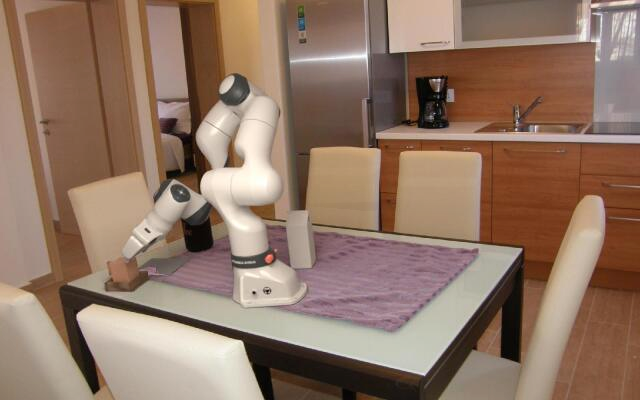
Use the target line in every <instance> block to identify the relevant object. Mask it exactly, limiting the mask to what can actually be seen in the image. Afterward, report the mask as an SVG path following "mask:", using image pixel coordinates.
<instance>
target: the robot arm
mask: <svg viewBox="0 0 640 400" xmlns="http://www.w3.org/2000/svg"><path fill="white" fill-rule="evenodd" d="M217 89H218V90H217V96H218V98H219V100H218V101H217V102H216V103H215V104H214V106H212V108H211V109H210V110H209V111H208V113H207V114H206V115H205V117H204V119H203V120H202V122H201V123H200V124H199V126H198V128H197V129H196V132H195V141H196V145H197V147H198V149H199V150H200V151H201V153H202V154H203V156H205V159H206V160H207V161H208V163H209V164H210V166H211V167H210V168H211V170H208V171H206V172H205V173H204V174H203V176H202V178H201V180H200V186H199V187H200V188H199V190H200V194H199V193H197V192H196V191H194V190H193V189H191V188H190V187H188V186H187V185H185V184H184V183H182V182H180V181H179V180H176V179H174V178H169V179H165V180H163V181H162V182H161V184H160V186H159V188H158V189H157V190H156V191H155V192H154V194H153V195H152V197H153V198H152V199H153V204H154V206H153V207H152V209H150V210H149V212H148V213H146V215H145V217H144V218H143V219H142V221H141V222H140V223H139V224H138V225H137V226H135V227H134V228H133V229H132V231H131V234H132V235H131V236H130V237H129V238H128V239H127V240H126V242H125V244H124V246H122V249H121V255H122V257H125V258H124V262H125V263H129V262H130V261H131V260H132V258H133V257H136V256H138V255H139V254H141V253H145V252H147V250H148V249H149V248H150V247H152V246H153V245H154V244H157V243H158V242H160V241H163V240H165V239H166V237H167V236H168V235H169V234H170V232H171V231H172V229H173V228H174V225H175V223H177V222H178V221H179V220H181V218H182V219H183V220H185V221H186V222H187V223H189V224H190V225H200V224H203V223H204V222H205V221H206V220H207V218H208V217H209V216H210V214H211V211H212V207H213V208H214V209H215V210H216V211H217V213H218V214H219V216H220V217H221V219H222V220H223V222H224V224H225V227H226V231H227V234H228V239H229V245H230V250H231V251H230V252H229V253H230V254H229V255H230V263H231V268H232V270H233V292H232V300H233V301H234V302H236V303H238V304H239V305H240V306H241V307H242V308H243V309H244V308H245V309H246V308H247V309H248V308H259V307H260V308H262V307H263V308H264V307H275V306H278V307H279V306H292V305H294V304H297V303H298V302H300V301H301V300H302V299H304V298H305V295H306V294H308V293H307V292H308V286H307V285H308V284H307V283H306V282H303V281H302V282H301V281H300V279H299V276H298V274H297V271H296V270H295V269H293V268H291V266H289V265H288V264H286V263H284V262H283V261H281V260H279V259H278V258H277V253H278V250H277V248H274V249H273V248H272V247H271V246H269V239H268V232H267V231H268V230H267V224H266V222H265V221H264V220H263V218H262V217H260V216H258V215H257V214H255V213H254V211H252V209H251V206H252V207H253V206H254V207H263V206H268V205H272V204H273V205H274V204H276V203H277V202H279V201H280V199H282V198H281V197H282V196H283V193H284V191H285V190H284V189H285V188H284V187H285V183H284V180H283V176H282V175H281V174H280V172H279V171H278V170H277V169H276V168H275V167H274V165H273V162H272V152H273V146H274V143H275V140H276V135H277V131H278V125H279V119H280V116H281V108H280V106H279V104H278V102H277V101H276V100H275V99H274V98H272V97H271V96H269V95H268V94H267V93H266V92H265V91H263V90H262V88H260V87H259V86H258V85H256V84H255V83H254V82H252V81H250V80H249V79H247V77H246V76H244V75H242V74H241V73H240V74H239V73H238V72H237V73H235V72H234V73H230V74H228V75H227V76H226V77H225V78H224V79H222V81H221V82H220V84H219V86H218V88H217ZM236 133H237V134H236ZM235 135H236V136H235ZM234 136H235V140H234V145H233V146H234V151H235V153H236V155H237V156H238V157H239V158H240V159H241V160H243V161H244V162H243V164H242V166H241V167H229V164H230V160H231V157H230V155H229V146H230V144H231V141H233V138H234Z"/></svg>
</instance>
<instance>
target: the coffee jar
mask: <svg viewBox="0 0 640 400" xmlns="http://www.w3.org/2000/svg"><path fill="white" fill-rule="evenodd" d="M180 222H181V229H182V232H183V233H182V234H183V239H184V244H185V248H186V250H187V251H188V252H191V253H200V252H201V253H202V252H206V251H208V250H210V249H212V247H213V246H214V237H213V231H212V223H211V218H210V215H209V217H208V218H207V220H206V221H205V222H204V223H203V224H200V225H190V224H189V223H187V222H186V221H185V220H183V219H182V218H181V217H180Z"/></svg>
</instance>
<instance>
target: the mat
mask: <svg viewBox="0 0 640 400" xmlns="http://www.w3.org/2000/svg"><path fill="white" fill-rule="evenodd" d="M190 260H191V257H174V258H173V257H166V258H165V257H161V258H160V257H157V258H154V257H153V258H152V257H151V259H148V261H146V262H144V263H143V264H142V265H140V266H138V270H141V269H144V268H146V267H149V266H152V265H154V264H155V266H156V267H154V268H156V272H155V273H159V274H164V275H170V274H171V275H172V273H173V272H174V271H175V272H177V271H178V270H179V269H180V268H182V267H183V266H184V265H185V264H187V263H188V262H189V261H190ZM177 269H178V270H177ZM157 271H158V272H157ZM175 272H174V273H175ZM174 273H173V274H174ZM171 275H170V276H171Z"/></svg>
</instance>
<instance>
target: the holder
mask: <svg viewBox="0 0 640 400" xmlns="http://www.w3.org/2000/svg"><path fill="white" fill-rule="evenodd" d="M148 281H150V276H148V271H139V276H138V277H136V278H135V279H134V280H132V281H131V282H113V278H112V277H111V278H109V279H108V280H107V281H105V282H103V284H104V288H105V292H111V293H112V292H117V293H120V292H121V293H122V292H123V293H125V292H126V293H132V292H135V291H136V290H138V289H139V288H140V287H142V286H143V285H144V284H145V283H147V282H148Z"/></svg>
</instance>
